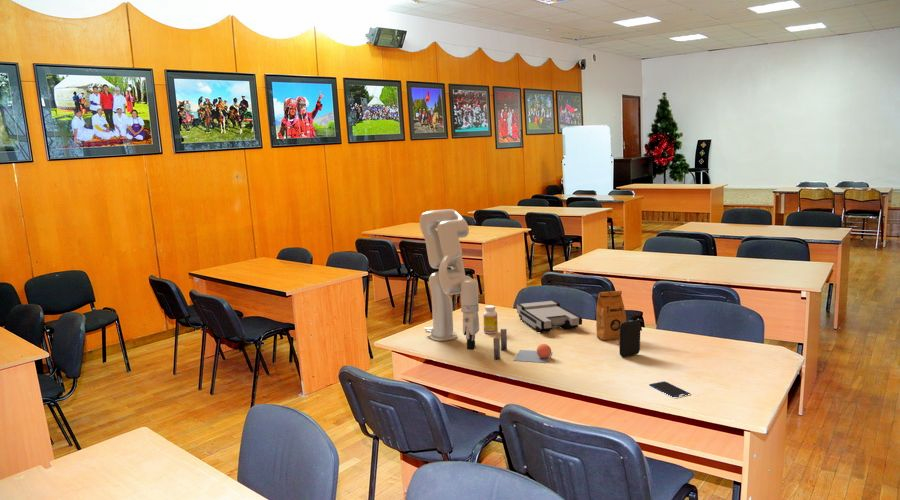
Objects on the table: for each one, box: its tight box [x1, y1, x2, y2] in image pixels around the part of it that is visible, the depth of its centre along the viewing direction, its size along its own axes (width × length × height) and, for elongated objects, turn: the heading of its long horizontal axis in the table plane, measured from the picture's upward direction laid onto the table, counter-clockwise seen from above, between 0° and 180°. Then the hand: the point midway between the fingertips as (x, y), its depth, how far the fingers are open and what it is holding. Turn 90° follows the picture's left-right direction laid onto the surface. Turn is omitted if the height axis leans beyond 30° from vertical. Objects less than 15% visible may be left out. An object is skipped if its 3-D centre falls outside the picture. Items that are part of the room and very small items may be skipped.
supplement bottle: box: [482, 304, 499, 335], centre depth 292 cm, size 7×7×13 cm
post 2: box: [500, 328, 508, 352], centre depth 265 cm, size 3×3×9 cm
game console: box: [516, 300, 583, 333], centre depth 301 cm, size 21×32×8 cm, turn 14°
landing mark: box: [513, 349, 553, 364], centre depth 255 cm, size 14×14×1 cm
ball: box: [536, 343, 552, 359], centre depth 252 cm, size 6×6×6 cm
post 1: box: [492, 336, 501, 361], centre depth 253 cm, size 3×3×9 cm
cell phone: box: [648, 381, 691, 398], centre depth 215 cm, size 7×14×1 cm, turn 21°
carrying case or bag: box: [618, 319, 643, 358], centre depth 251 cm, size 11×3×15 cm, turn 111°
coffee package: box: [595, 290, 627, 341], centre depth 275 cm, size 10×12×22 cm
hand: (471, 349), depth 263 cm, fingers closed
